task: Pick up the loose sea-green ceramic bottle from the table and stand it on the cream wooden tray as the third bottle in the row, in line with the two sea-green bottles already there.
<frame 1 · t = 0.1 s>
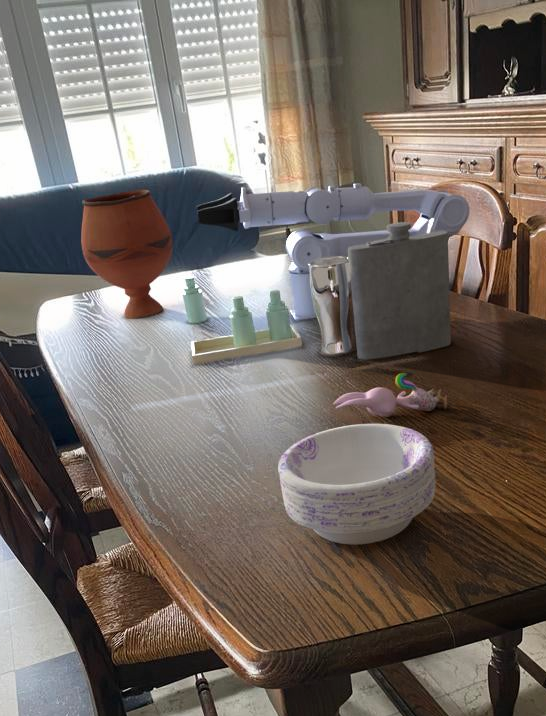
hand: (197, 214, 138), 22 cm above the table, tool horizontal, fingers open, 7 cm apart
rabbit figure: (391, 416, 100), on the table
beer glass: (338, 352, 127), on the table
tray: (246, 350, 134), on the table
loose bottle: (197, 320, 157), on the table
paper bowls: (361, 523, 76), on the table
goblet: (143, 314, 169), on the table
bottle b: (246, 347, 134), resting on tray
bottle a: (281, 341, 135), resting on tray
hip flask: (405, 353, 122), on the table
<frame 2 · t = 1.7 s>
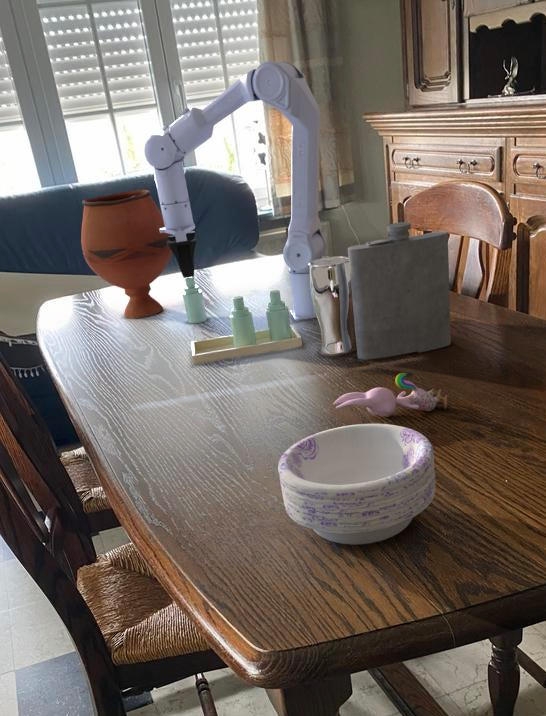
hand: (188, 273, 152), 10 cm above the table, tool pointing down, fingers open, 7 cm apart
nothing on the table moved.
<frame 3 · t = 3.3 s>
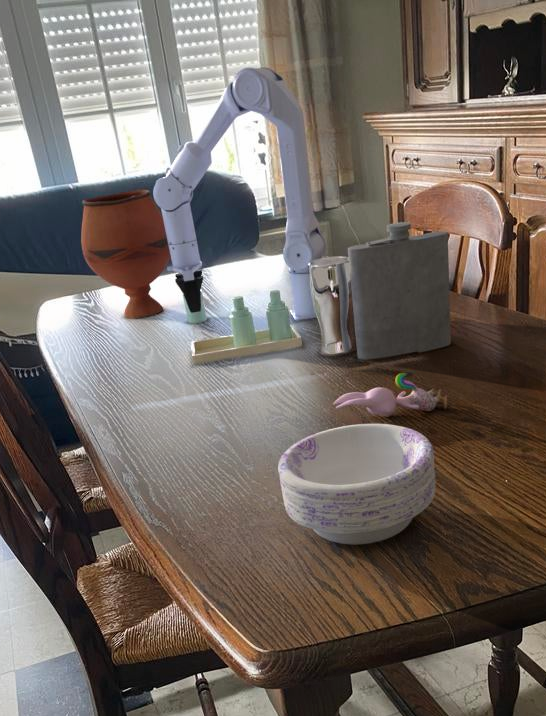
hand: (195, 309, 156), 2 cm above the table, tool pointing down, fingers closed on loose bottle, 4 cm apart
loose bottle: (197, 320, 157), on the table, touching gripper
everything else where it was.
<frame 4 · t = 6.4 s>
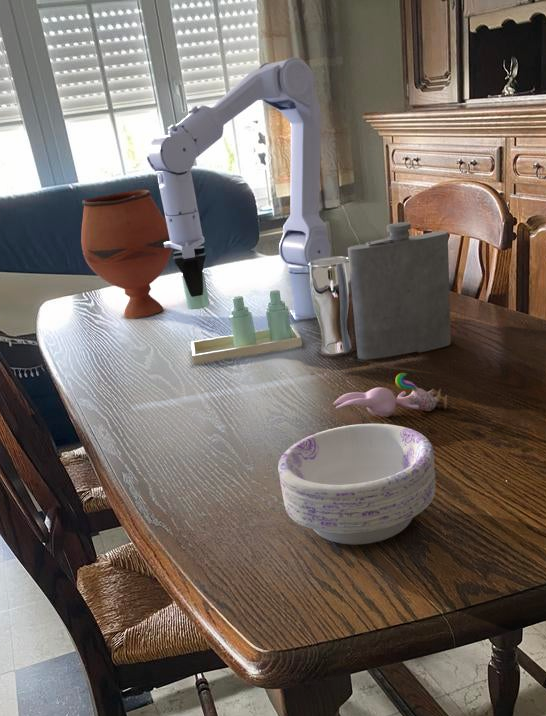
hand: (196, 292, 134), 10 cm above the table, tool pointing down, fingers closed on loose bottle, 4 cm apart
loose bottle: (198, 306, 136), point 8 cm above the table, touching gripper
everything else where it was.
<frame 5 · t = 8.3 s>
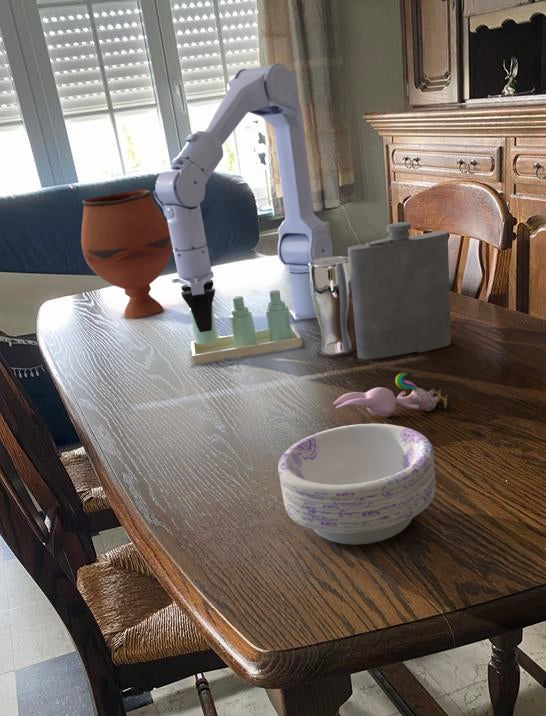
hand: (205, 327, 131), 5 cm above the table, tool pointing down, fingers closed on loose bottle, 4 cm apart
loose bottle: (207, 341, 132), point 3 cm above the table, touching gripper
everything else where it was.
when the fingers open (3 cm above the table, at t = 9.5 s): loose bottle stays where it is, resting on tray.
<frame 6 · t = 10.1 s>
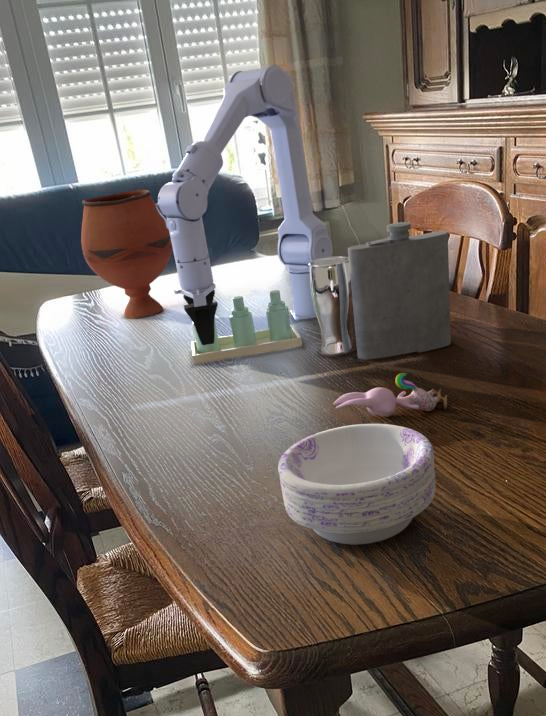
hand: (207, 338, 132), 3 cm above the table, tool pointing down, fingers open, 7 cm apart
loose bottle: (209, 353, 134), resting on tray
everything else where it was.
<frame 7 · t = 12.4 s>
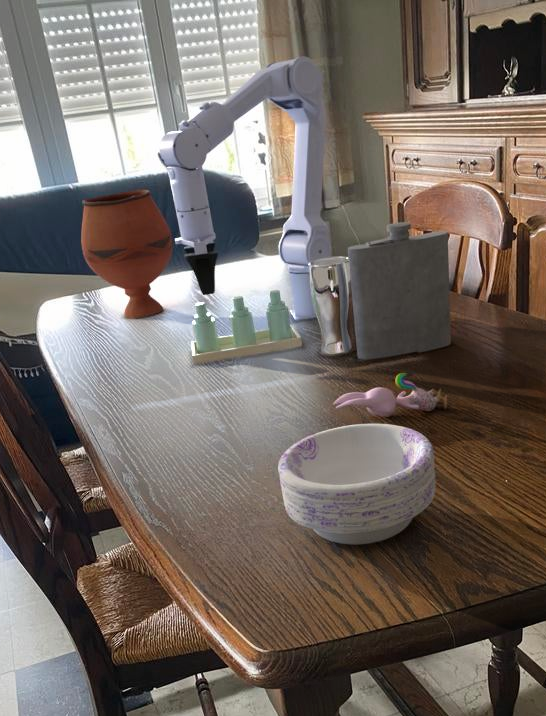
hand: (207, 289, 134), 10 cm above the table, tool pointing down, fingers open, 7 cm apart
nothing on the table moved.
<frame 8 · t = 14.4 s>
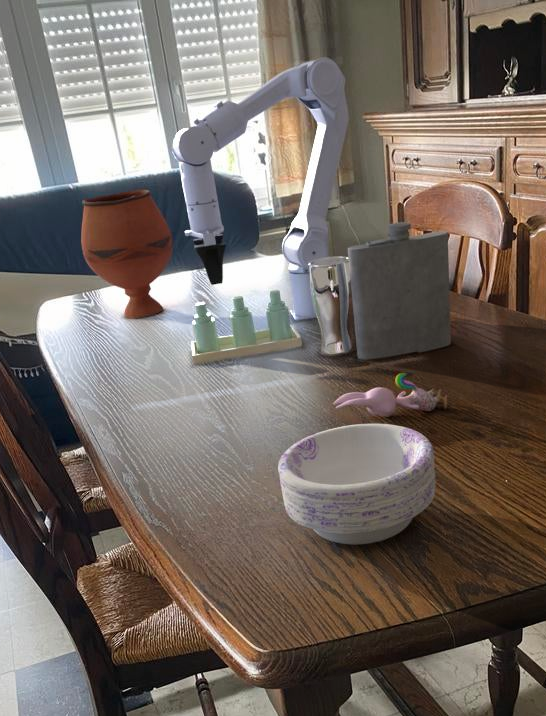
hand: (215, 279, 140), 10 cm above the table, tool pointing down, fingers open, 7 cm apart
nothing on the table moved.
at the end: loose bottle 0.1 cm from the target spot in the tray, point 0.4 cm above the tray's base; loose bottle tilted 0°; loose bottle 6.6 cm from the bottle b (horizontally) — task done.
